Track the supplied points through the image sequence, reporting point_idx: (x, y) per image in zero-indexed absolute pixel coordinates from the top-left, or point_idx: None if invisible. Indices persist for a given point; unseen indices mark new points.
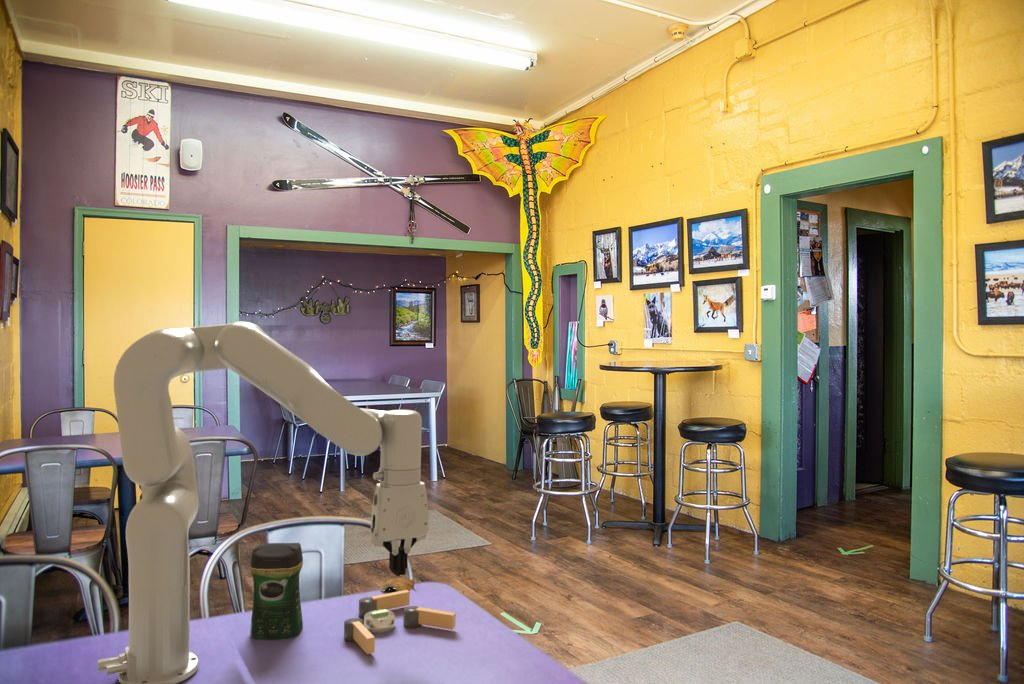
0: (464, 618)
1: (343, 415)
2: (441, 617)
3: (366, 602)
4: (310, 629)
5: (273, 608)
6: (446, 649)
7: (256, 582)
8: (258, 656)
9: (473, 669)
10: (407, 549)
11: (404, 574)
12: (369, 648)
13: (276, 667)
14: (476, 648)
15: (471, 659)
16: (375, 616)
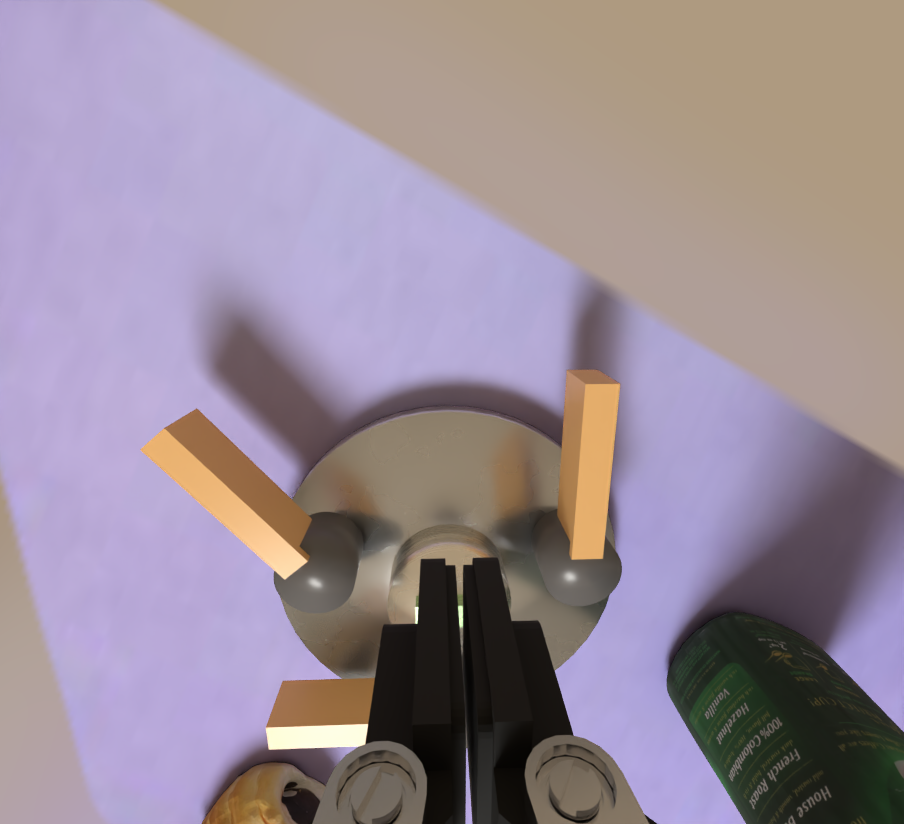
0: (103, 544)
1: None
2: (217, 463)
3: None
4: (627, 681)
5: (885, 731)
6: (266, 337)
7: None
8: (835, 581)
9: (226, 113)
10: (368, 807)
11: (428, 560)
12: (593, 374)
13: (827, 490)
14: (146, 285)
15: (201, 204)
16: None
